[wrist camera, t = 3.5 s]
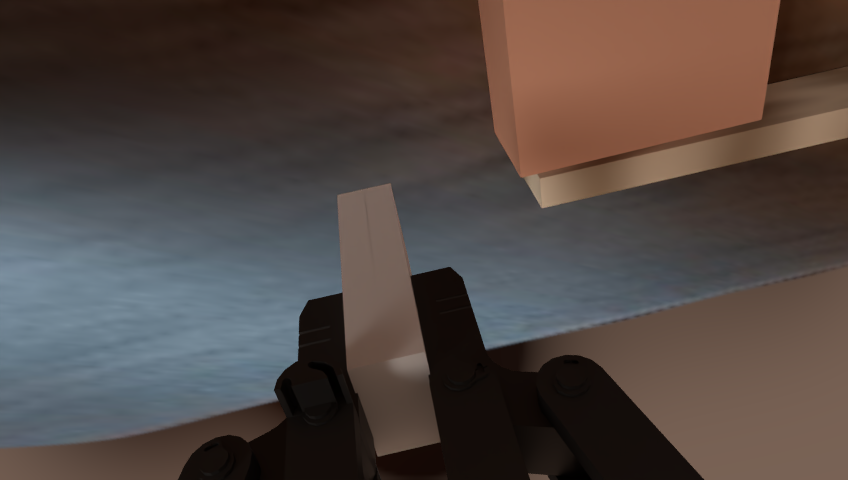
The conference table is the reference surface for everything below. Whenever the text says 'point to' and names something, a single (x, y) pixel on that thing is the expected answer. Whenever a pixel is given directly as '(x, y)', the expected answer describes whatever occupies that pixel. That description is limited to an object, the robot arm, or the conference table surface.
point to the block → (621, 73)
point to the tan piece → (714, 142)
